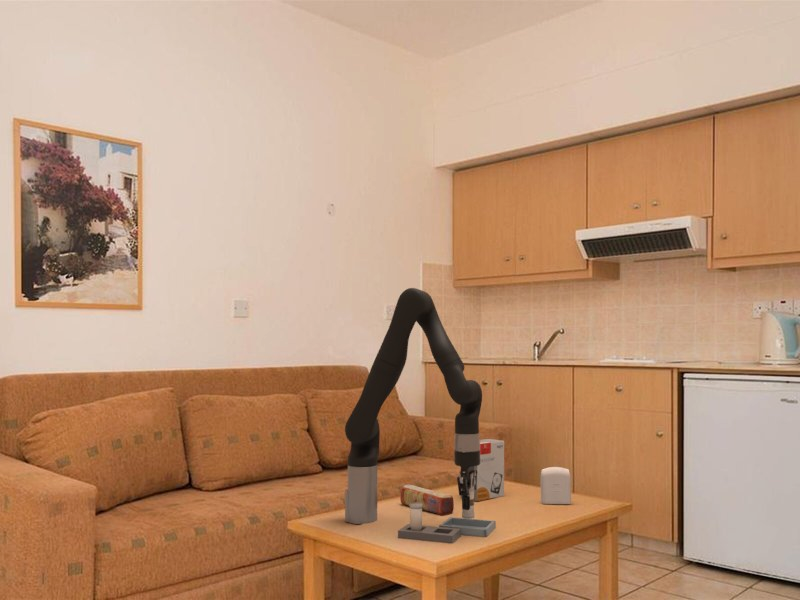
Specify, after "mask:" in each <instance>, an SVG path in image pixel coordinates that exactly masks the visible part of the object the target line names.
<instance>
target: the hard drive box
mask: <svg viewBox="0 0 800 600" xmlns="http://www.w3.org/2000/svg"><path fill="white" fill-rule="evenodd" d="M474 470H477V483H476V490H474V491H475V492H474V502H479V501H485V500H489V499H497V498H500V497H505V440H501V439H492V438H486V439H480V465H478V466H474ZM460 499H462V496H461V495H460Z"/></svg>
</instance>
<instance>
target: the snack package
mask: <svg viewBox="0 0 800 600" xmlns="http://www.w3.org/2000/svg"><path fill="white" fill-rule="evenodd" d="M399 497H400V502H401V504H402V505H403V506H409V507H410V503H412V502H420V503H422V511H423V510H424V511H427V512H430V513H434V514H437V515H440V516H447V515H450V514H451V515H452V513H453V512H454V509H455V508H454V506H455V505H454V504H455V503H454V496H453V495H451V494H449V493H443V492H440V491H436V490H433V489H427V488H425V487H424V488H423V487H419V486H417V485H413V484H405V485H404V486H403V487H401V489H400V496H399Z"/></svg>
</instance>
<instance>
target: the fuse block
mask: <svg viewBox="0 0 800 600" xmlns="http://www.w3.org/2000/svg"><path fill="white" fill-rule="evenodd" d="M461 536H462V535H461V529H456V528H445V527H439V526H432V525H423V524H422V531H414V530H410V523H407V524H405V525H404V526H402V527H401V528H400V529H398V530H397V539H406V540H413V541H414V540H415V541H423V542H424V541H425V542H434V543H442V544H443V543H444V544H454V543H455V542H456V541H458V539H460V538H461Z"/></svg>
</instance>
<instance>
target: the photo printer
mask: <svg viewBox="0 0 800 600" xmlns="http://www.w3.org/2000/svg"><path fill="white" fill-rule="evenodd" d="M540 503H541V504H542V505H571V504H572V477H571V473H570V469H569V468H565V467H561V466H551V467H546V468H543V469H541V471H540Z"/></svg>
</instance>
